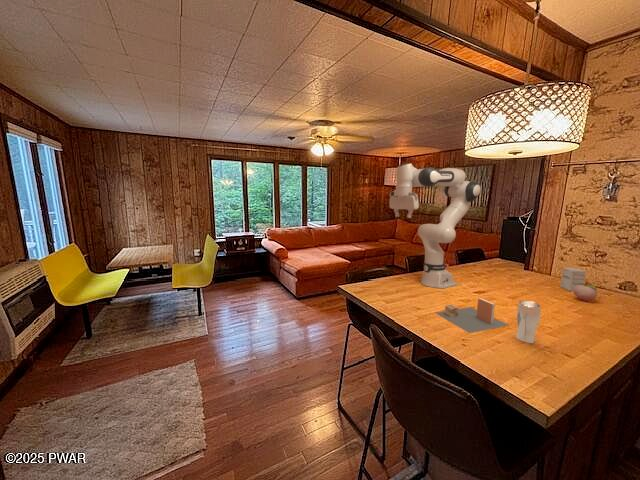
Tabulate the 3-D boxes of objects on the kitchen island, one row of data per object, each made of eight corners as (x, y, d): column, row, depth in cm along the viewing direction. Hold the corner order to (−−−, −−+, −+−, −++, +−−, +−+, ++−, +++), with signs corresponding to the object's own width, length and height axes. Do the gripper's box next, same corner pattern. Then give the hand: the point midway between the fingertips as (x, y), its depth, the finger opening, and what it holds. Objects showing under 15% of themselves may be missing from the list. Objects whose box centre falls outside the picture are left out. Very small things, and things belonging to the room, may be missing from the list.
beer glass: (511, 334, 106) (515, 299, 104) (532, 337, 103) (537, 301, 101) (517, 342, 100) (521, 306, 97) (539, 346, 97) (544, 308, 95)
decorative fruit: (598, 301, 138) (601, 283, 137) (593, 305, 134) (596, 286, 132) (574, 296, 146) (577, 279, 145) (569, 299, 142) (572, 281, 140)
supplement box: (559, 286, 162) (562, 267, 160) (573, 287, 161) (576, 267, 159) (569, 290, 155) (572, 270, 153) (583, 291, 153) (586, 270, 151)
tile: (479, 316, 121) (480, 298, 119) (493, 323, 114) (495, 303, 113) (476, 316, 120) (478, 298, 119) (490, 323, 114) (492, 304, 112)
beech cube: (451, 312, 125) (452, 304, 125) (458, 315, 122) (458, 307, 121) (444, 313, 124) (445, 305, 124) (451, 317, 120) (451, 308, 120)
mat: (470, 308, 131) (470, 307, 131) (509, 326, 112) (509, 325, 112) (434, 314, 125) (434, 312, 125) (469, 334, 106) (469, 333, 106)
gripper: (422, 192, 138) (420, 218, 140) (396, 193, 156) (395, 216, 159) (412, 192, 135) (411, 218, 138) (387, 193, 154) (387, 216, 156)
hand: (402, 217), depth 148 cm, fingers open, 8 cm apart
